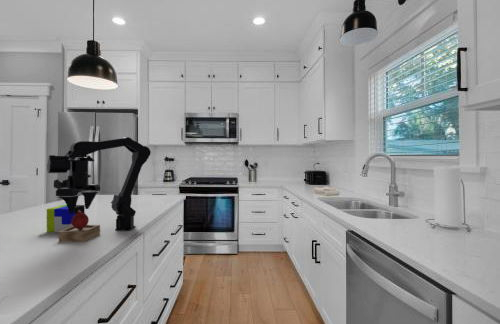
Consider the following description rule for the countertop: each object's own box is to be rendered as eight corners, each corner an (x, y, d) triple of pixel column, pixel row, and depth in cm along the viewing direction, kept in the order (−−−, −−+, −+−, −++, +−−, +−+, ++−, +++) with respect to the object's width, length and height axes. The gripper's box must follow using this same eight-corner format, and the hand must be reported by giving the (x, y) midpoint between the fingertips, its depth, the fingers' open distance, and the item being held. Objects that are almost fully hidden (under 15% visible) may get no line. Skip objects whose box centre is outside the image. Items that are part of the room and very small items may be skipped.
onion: (92, 228, 106) (91, 209, 105) (79, 232, 100) (77, 212, 100) (82, 227, 107) (81, 208, 107) (68, 231, 102) (67, 211, 102)
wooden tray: (99, 233, 109) (99, 225, 109) (84, 241, 99) (84, 231, 99) (76, 233, 109) (76, 224, 109) (58, 241, 99) (58, 231, 99)
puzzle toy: (69, 232, 112) (69, 209, 111) (46, 231, 112) (46, 209, 112) (84, 226, 122) (84, 205, 121) (63, 225, 122) (63, 204, 122)
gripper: (75, 171, 113) (75, 206, 113) (41, 173, 94) (40, 215, 94) (100, 171, 113) (100, 207, 113) (71, 173, 94) (71, 216, 94)
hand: (79, 211), depth 103 cm, fingers open, 9 cm apart
